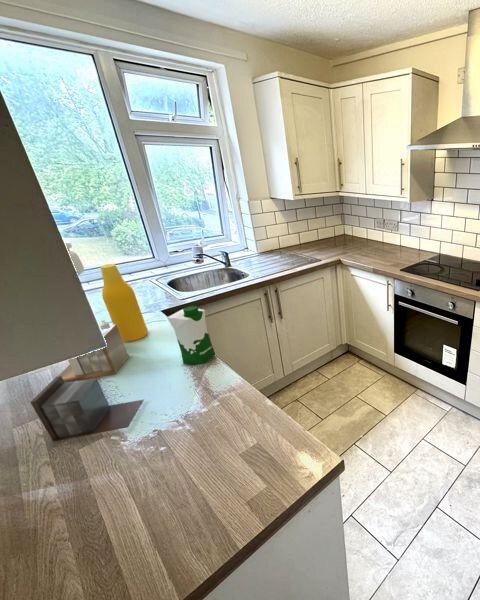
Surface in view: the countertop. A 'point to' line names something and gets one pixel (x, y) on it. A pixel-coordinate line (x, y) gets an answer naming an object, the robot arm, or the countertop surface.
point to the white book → (76, 366)
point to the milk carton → (192, 335)
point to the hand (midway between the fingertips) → (46, 292)
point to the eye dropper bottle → (104, 325)
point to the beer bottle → (122, 305)
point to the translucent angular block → (101, 358)
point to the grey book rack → (80, 409)
